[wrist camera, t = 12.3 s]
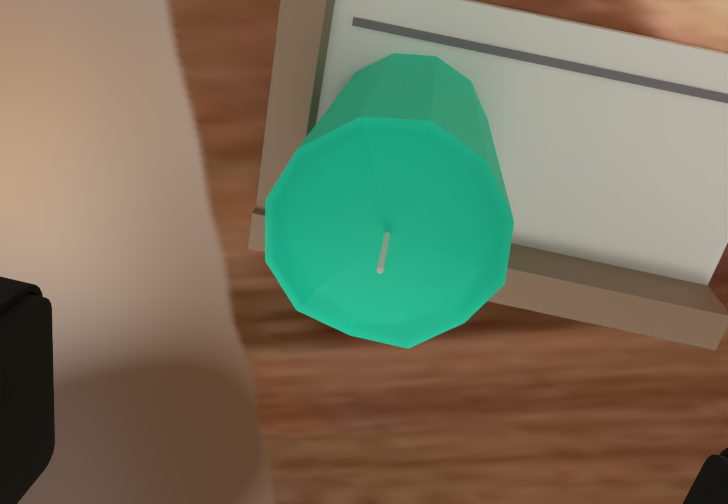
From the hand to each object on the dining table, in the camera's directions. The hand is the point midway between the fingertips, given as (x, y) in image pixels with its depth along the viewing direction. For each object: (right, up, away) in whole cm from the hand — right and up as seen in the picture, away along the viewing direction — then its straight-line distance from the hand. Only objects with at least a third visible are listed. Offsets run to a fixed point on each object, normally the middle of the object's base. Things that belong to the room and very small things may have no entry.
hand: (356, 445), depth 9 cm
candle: (+2, +7, +16) cm, 18 cm away
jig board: (+6, +7, +17) cm, 19 cm away
